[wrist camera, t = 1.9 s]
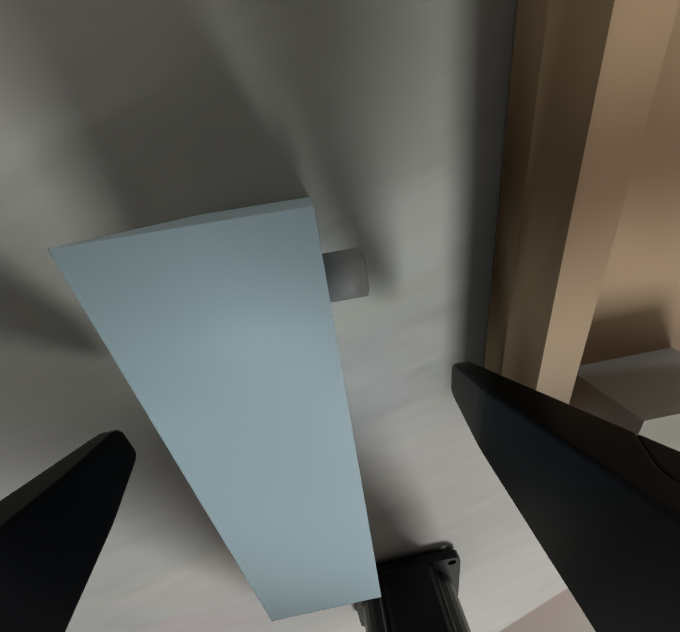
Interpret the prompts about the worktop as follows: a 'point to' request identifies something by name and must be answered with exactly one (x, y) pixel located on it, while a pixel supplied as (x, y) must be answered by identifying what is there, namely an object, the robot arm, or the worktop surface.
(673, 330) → the rail
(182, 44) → the worktop surface
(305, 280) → the door panel
